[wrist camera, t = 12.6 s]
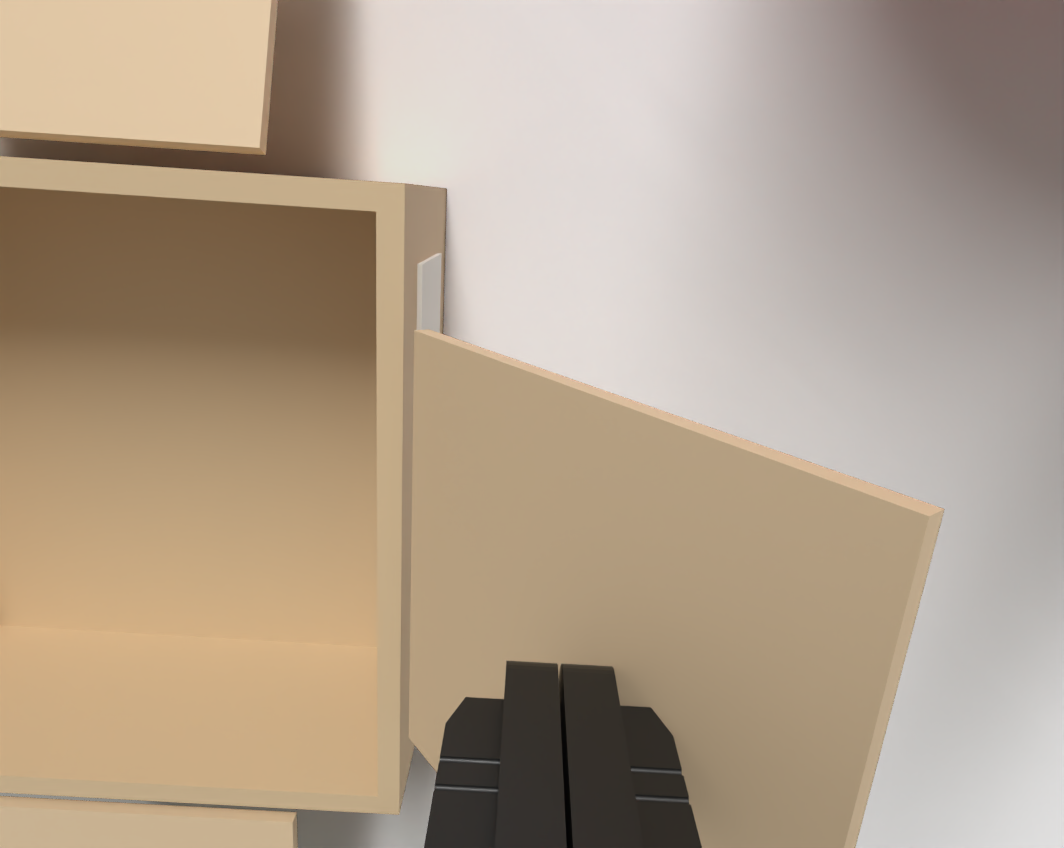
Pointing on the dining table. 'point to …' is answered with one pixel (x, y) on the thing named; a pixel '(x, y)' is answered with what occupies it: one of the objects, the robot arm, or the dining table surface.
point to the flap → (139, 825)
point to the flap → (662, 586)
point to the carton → (200, 428)
